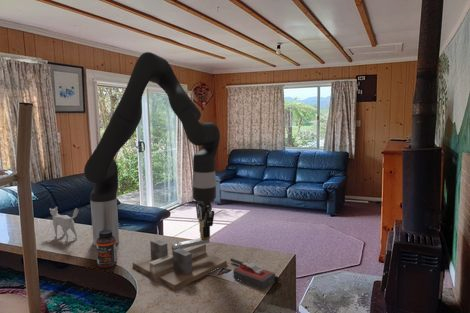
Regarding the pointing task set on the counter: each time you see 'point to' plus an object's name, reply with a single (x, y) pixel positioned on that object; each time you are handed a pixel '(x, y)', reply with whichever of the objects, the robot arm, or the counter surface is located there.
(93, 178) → the robot arm
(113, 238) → the supplement bottle
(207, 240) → the swing bar
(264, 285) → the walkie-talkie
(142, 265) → the lock base
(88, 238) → the counter surface
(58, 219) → the cat figurine
